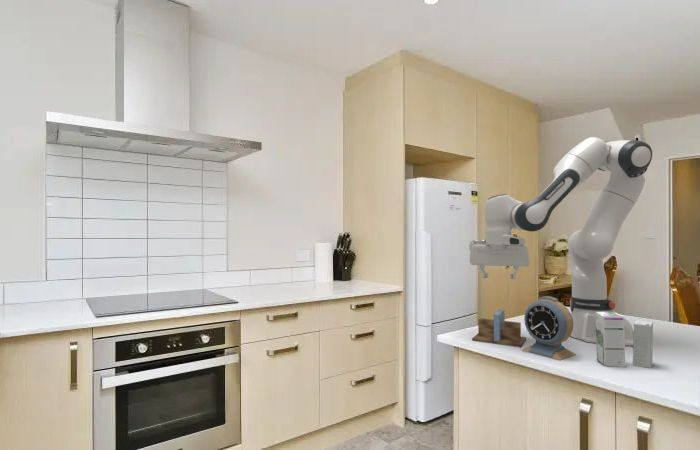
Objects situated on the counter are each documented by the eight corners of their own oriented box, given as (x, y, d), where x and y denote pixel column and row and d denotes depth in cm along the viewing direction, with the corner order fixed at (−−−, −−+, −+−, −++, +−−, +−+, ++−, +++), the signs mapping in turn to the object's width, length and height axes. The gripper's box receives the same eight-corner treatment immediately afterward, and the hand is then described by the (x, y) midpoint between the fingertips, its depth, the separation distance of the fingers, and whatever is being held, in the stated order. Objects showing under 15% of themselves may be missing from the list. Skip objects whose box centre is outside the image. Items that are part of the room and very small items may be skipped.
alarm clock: (518, 350, 132) (518, 295, 133) (535, 345, 138) (535, 292, 138) (563, 361, 121) (562, 301, 121) (579, 355, 127) (578, 298, 127)
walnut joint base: (526, 339, 145) (525, 320, 145) (520, 347, 136) (520, 326, 136) (480, 333, 153) (479, 315, 154) (472, 340, 144) (472, 321, 144)
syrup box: (626, 367, 115) (625, 315, 116) (603, 366, 116) (602, 314, 117) (617, 361, 121) (617, 311, 121) (595, 360, 122) (595, 311, 122)
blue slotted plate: (499, 341, 140) (499, 315, 140) (493, 340, 141) (493, 314, 141) (504, 334, 149) (504, 309, 149) (499, 334, 150) (499, 309, 150)
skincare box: (634, 360, 122) (634, 319, 122) (653, 363, 119) (653, 321, 119) (632, 365, 117) (631, 322, 117) (651, 368, 114) (651, 325, 114)
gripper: (466, 240, 150) (467, 278, 149) (527, 239, 139) (528, 280, 139) (471, 239, 155) (472, 276, 155) (530, 239, 144) (530, 278, 144)
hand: (499, 278), depth 147 cm, fingers open, 8 cm apart
